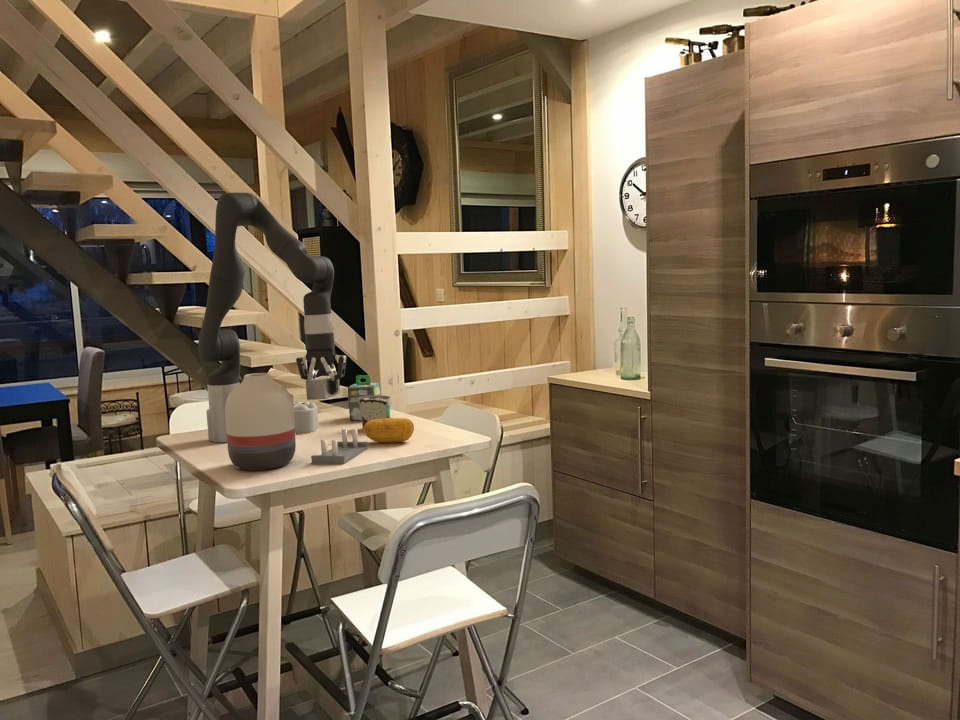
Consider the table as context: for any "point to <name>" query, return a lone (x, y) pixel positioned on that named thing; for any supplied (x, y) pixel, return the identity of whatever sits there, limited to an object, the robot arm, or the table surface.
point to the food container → (374, 407)
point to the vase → (260, 424)
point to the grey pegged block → (340, 450)
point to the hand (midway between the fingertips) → (324, 394)
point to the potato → (389, 430)
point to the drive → (320, 388)
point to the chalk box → (360, 394)
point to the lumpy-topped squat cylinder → (305, 417)
